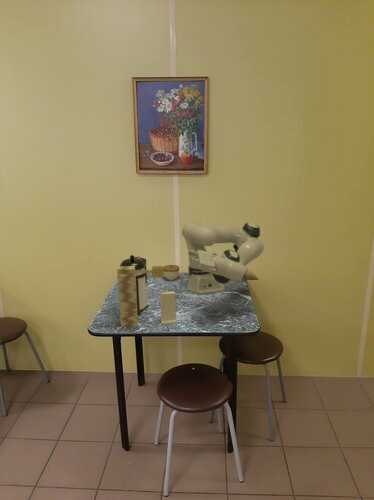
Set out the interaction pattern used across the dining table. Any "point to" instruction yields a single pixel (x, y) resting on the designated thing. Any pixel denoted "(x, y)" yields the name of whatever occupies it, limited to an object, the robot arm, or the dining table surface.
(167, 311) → the cream rest post
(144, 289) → the coffee press
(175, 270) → the lidded jar
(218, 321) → the dining table surface
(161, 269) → the beige mallet
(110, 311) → the dining table surface
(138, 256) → the supplement box
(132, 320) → the birch bearing block
